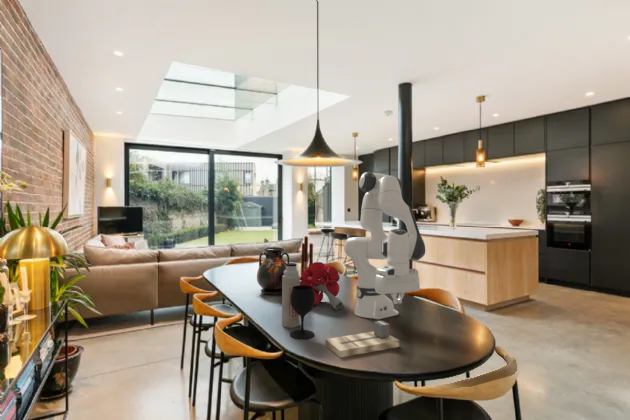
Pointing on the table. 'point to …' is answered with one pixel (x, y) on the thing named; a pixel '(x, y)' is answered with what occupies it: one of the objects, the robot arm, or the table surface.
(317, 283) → the bouquet
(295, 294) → the wine glass
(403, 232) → the robot arm
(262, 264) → the amphora vase
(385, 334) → the fader
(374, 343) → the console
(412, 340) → the table surface
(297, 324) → the thermos bottle
